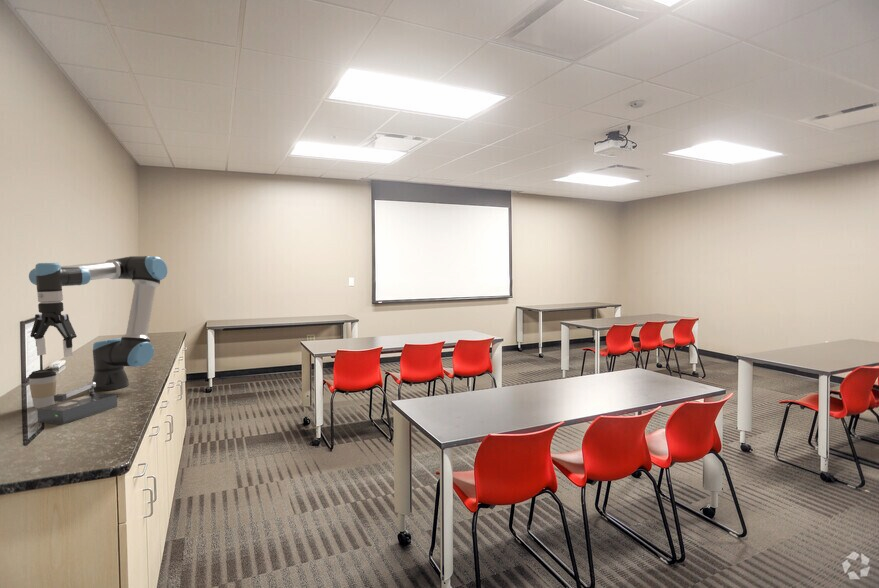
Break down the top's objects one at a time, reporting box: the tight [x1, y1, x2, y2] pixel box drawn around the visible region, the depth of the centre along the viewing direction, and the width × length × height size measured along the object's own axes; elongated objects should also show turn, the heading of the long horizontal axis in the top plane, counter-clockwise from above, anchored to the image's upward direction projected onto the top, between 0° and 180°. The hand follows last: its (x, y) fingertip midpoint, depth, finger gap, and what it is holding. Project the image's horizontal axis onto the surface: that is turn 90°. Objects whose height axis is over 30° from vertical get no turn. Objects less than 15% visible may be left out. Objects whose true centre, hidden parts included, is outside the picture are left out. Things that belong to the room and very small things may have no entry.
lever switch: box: [36, 388, 118, 425], centre depth 181 cm, size 22×12×8 cm, turn 167°
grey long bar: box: [54, 381, 96, 402], centre depth 182 cm, size 21×3×2 cm, turn 7°
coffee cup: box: [27, 368, 57, 409], centre depth 193 cm, size 9×9×15 cm
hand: (54, 355), depth 183 cm, fingers open, 13 cm apart
